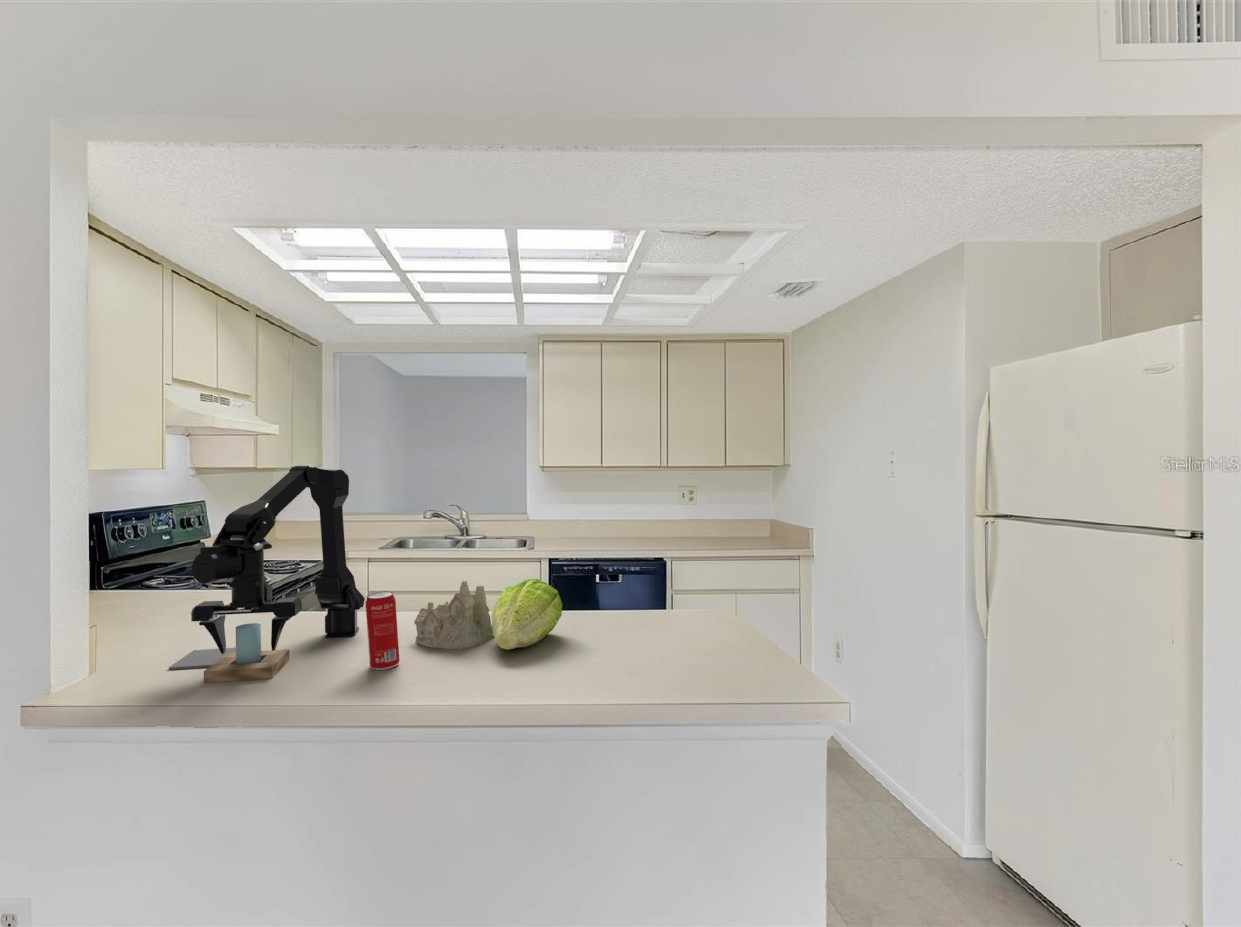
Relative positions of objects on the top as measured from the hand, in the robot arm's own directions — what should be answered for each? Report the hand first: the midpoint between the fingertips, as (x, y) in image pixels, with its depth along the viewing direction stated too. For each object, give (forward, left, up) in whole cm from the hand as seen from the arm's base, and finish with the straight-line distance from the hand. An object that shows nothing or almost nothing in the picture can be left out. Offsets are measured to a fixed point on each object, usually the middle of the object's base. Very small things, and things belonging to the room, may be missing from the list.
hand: (248, 651), depth 134 cm
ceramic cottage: (-40, -14, -4) cm, 43 cm away
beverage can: (-26, +3, -4) cm, 26 cm away
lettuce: (-55, -7, -4) cm, 56 cm away
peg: (0, 0, -4) cm, 4 cm away
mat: (+10, -10, -4) cm, 15 cm away
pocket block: (0, 0, -4) cm, 4 cm away
